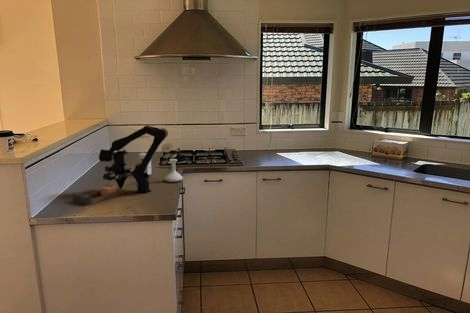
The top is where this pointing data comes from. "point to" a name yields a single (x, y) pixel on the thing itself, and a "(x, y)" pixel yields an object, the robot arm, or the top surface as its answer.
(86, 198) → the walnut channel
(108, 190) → the block
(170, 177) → the flower in vase
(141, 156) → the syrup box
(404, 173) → the top surface
